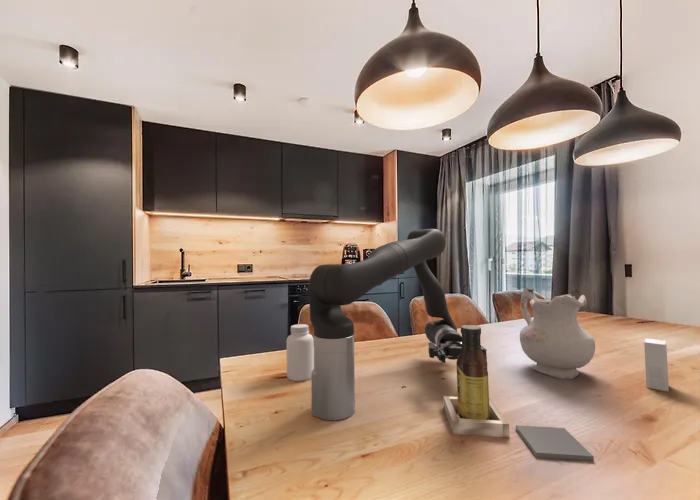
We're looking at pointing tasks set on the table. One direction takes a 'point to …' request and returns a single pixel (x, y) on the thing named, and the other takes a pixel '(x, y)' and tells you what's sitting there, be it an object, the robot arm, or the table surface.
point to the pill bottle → (300, 353)
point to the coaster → (553, 443)
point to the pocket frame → (476, 421)
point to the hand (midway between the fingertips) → (462, 359)
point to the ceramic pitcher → (555, 335)
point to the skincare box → (656, 364)
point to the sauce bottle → (472, 376)
